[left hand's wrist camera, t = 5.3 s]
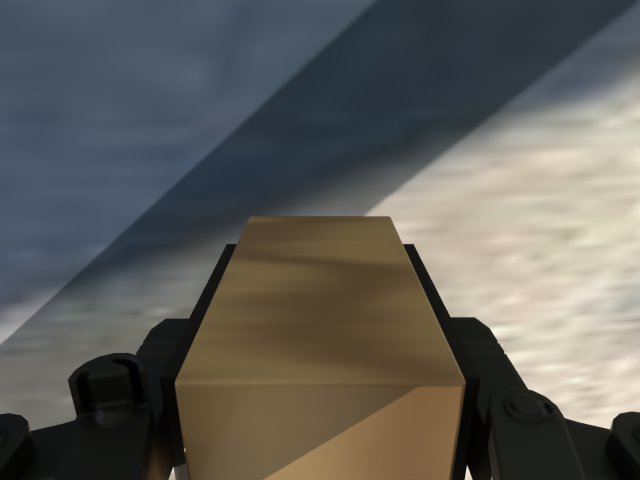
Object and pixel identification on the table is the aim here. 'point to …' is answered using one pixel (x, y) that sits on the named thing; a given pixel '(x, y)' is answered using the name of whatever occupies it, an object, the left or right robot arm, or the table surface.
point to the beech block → (320, 361)
